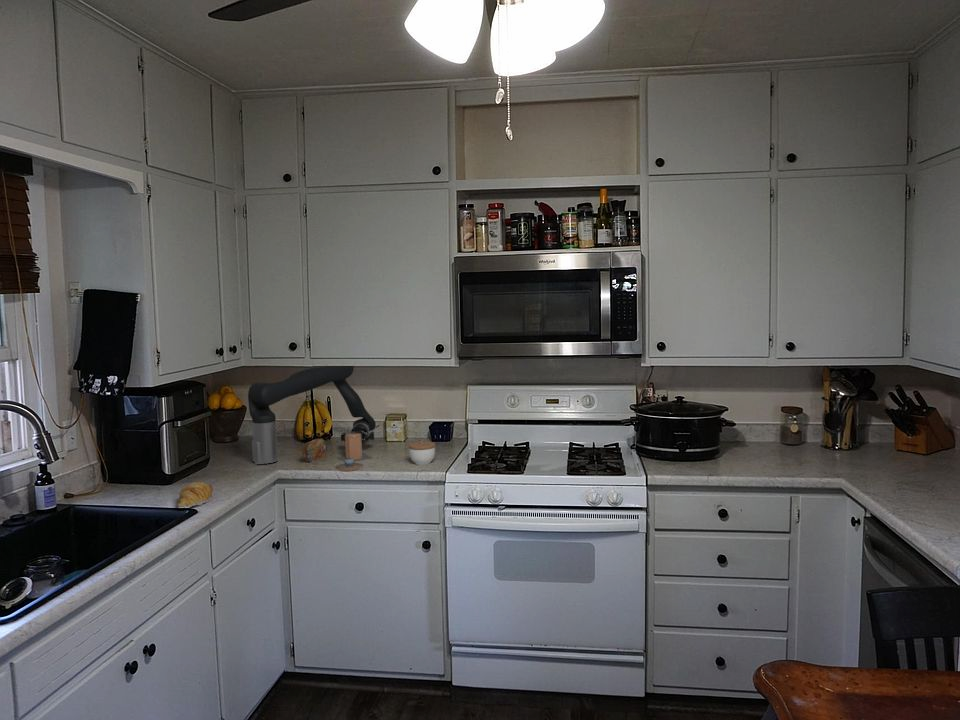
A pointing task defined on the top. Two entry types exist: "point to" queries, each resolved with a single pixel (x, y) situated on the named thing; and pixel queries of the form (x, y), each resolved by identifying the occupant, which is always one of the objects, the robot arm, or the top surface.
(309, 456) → the mottled brown slab
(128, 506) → the top surface
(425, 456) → the lidded jar
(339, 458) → the mat
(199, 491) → the croissant
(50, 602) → the top surface
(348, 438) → the salmon orange block
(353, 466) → the pot lid
